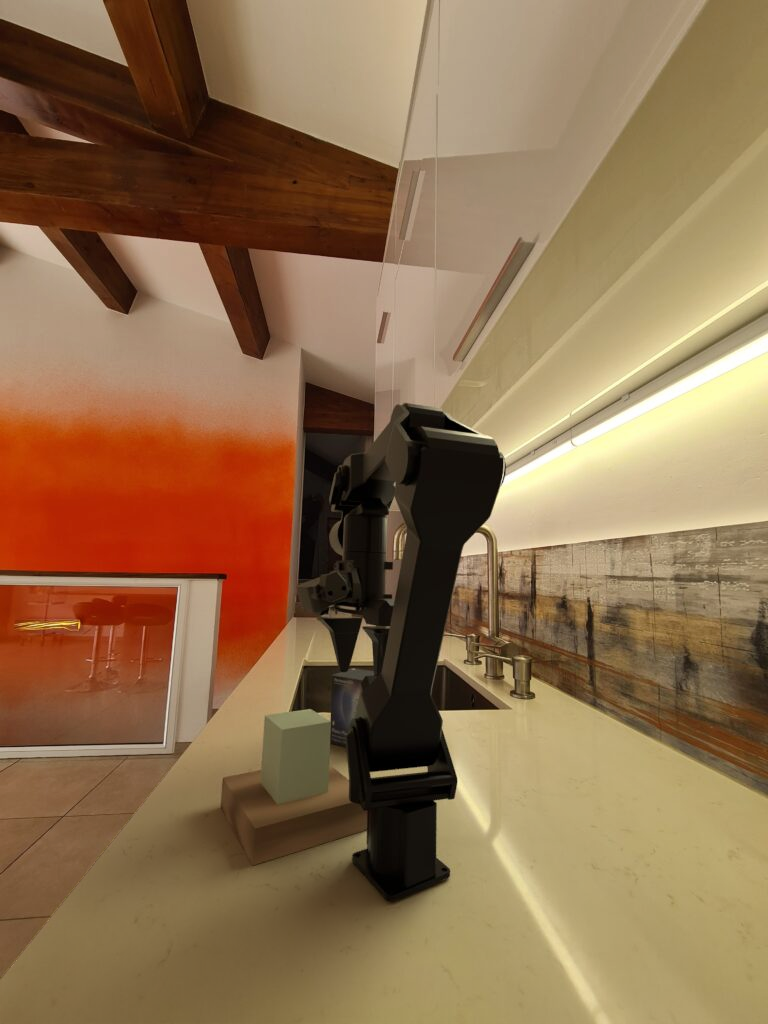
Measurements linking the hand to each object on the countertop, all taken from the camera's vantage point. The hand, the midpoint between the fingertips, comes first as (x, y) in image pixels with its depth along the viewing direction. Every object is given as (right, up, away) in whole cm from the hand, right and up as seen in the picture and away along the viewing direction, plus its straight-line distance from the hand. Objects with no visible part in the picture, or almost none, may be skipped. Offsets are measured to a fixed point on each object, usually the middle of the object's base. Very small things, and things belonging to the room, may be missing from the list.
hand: (360, 678), depth 56 cm
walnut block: (-7, -12, -8) cm, 16 cm away
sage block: (-7, -9, -8) cm, 14 cm away
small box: (0, -16, +14) cm, 21 cm away
